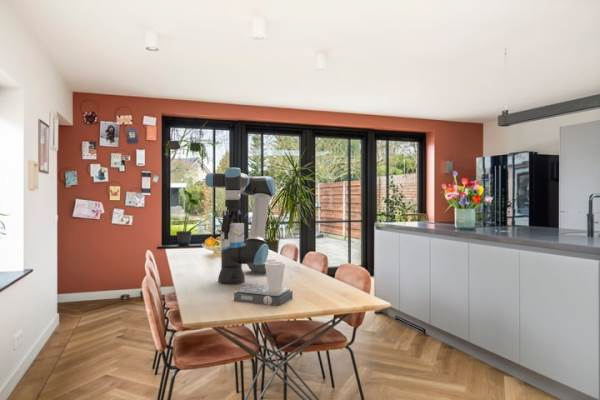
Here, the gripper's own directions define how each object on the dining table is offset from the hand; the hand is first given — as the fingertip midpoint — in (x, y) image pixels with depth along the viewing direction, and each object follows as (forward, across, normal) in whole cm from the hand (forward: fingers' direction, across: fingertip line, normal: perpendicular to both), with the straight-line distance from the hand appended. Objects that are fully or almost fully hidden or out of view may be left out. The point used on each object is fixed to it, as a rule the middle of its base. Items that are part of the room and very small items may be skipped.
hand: (232, 245), depth 205 cm
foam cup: (+21, +3, -22) cm, 31 cm away
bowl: (+25, +61, +19) cm, 69 cm away
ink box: (+1, 0, 0) cm, 1 cm away
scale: (+26, +3, -16) cm, 30 cm away
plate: (+22, +3, -16) cm, 27 cm away
